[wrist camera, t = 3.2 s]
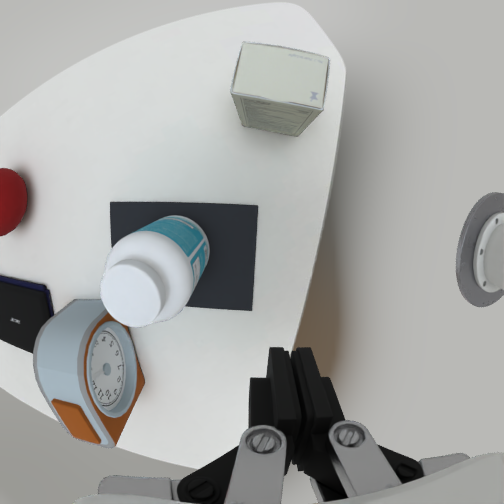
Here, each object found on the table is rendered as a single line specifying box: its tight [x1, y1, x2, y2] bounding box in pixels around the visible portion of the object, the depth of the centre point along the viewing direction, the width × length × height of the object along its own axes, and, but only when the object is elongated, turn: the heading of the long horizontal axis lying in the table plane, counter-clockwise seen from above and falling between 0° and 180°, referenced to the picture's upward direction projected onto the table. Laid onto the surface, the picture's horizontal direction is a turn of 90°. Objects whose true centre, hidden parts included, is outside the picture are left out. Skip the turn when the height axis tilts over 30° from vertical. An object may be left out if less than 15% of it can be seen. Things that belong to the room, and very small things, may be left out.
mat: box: [110, 202, 258, 311], centre depth 31 cm, size 17×12×1 cm
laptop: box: [0, 276, 54, 353], centre depth 32 cm, size 16×20×2 cm
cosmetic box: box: [230, 42, 330, 136], centre depth 21 cm, size 6×4×12 cm
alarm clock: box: [33, 300, 145, 448], centre depth 28 cm, size 15×8×14 cm, turn 4°
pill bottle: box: [100, 215, 210, 327], centre depth 24 cm, size 8×7×14 cm
